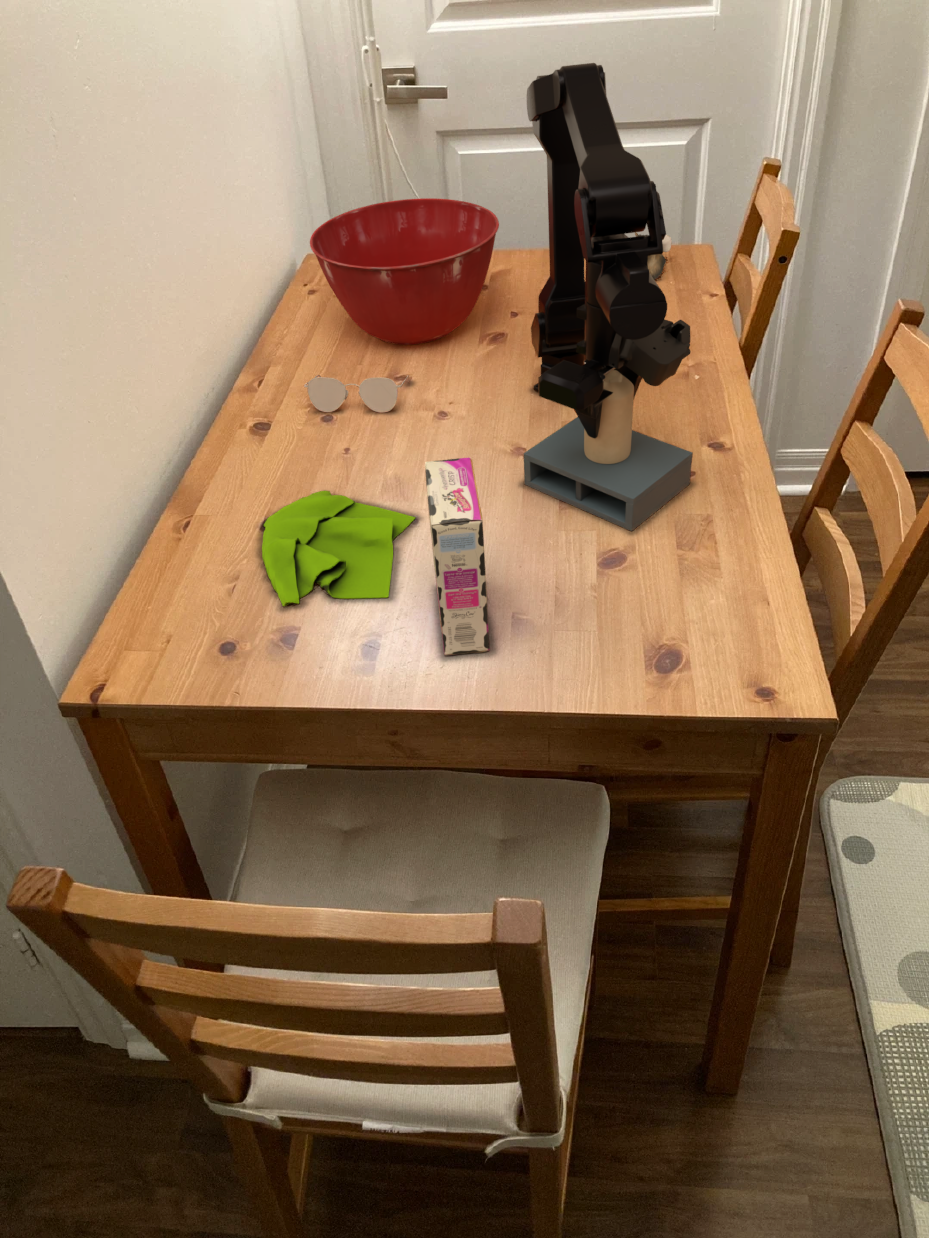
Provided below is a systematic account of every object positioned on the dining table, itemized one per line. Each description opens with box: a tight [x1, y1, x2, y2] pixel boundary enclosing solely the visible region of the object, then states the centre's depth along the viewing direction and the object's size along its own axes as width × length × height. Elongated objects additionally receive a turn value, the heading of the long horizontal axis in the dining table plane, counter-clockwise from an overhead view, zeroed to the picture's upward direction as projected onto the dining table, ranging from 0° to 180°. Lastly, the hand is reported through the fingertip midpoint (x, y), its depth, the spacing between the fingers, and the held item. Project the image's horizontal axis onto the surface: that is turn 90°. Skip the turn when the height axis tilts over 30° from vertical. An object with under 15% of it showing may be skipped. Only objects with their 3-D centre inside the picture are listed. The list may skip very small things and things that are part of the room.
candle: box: [584, 370, 635, 464], centre depth 113 cm, size 6×6×10 cm
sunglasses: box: [303, 374, 411, 414], centre depth 139 cm, size 14×8×5 cm, turn 82°
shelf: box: [523, 416, 693, 532], centre depth 118 cm, size 12×16×4 cm
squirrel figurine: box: [634, 232, 673, 280], centre depth 164 cm, size 8×7×9 cm
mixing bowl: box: [309, 197, 500, 346], centre depth 151 cm, size 28×28×16 cm
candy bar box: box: [424, 457, 491, 656], centre depth 97 cm, size 11×5×16 cm, turn 5°
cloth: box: [261, 490, 416, 607], centre depth 112 cm, size 20×22×2 cm
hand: (607, 426), depth 114 cm, fingers closed on candle, 5 cm apart
